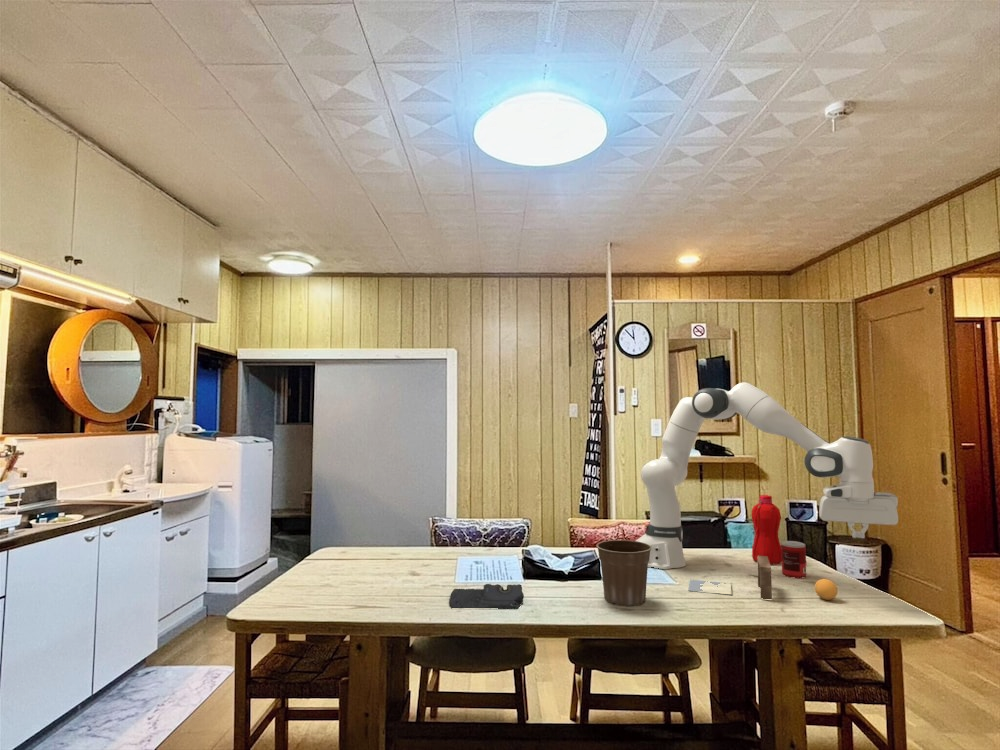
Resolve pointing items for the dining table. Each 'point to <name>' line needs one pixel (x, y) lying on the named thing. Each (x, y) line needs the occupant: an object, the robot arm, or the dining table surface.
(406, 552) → the dining table surface
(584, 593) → the dining table surface
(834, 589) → the ball
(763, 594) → the wooden staple shape
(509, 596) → the dark slate chunk
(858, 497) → the robot arm
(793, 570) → the canned food
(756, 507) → the water bottle
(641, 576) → the plant pot
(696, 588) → the flat gray rectangular panel
